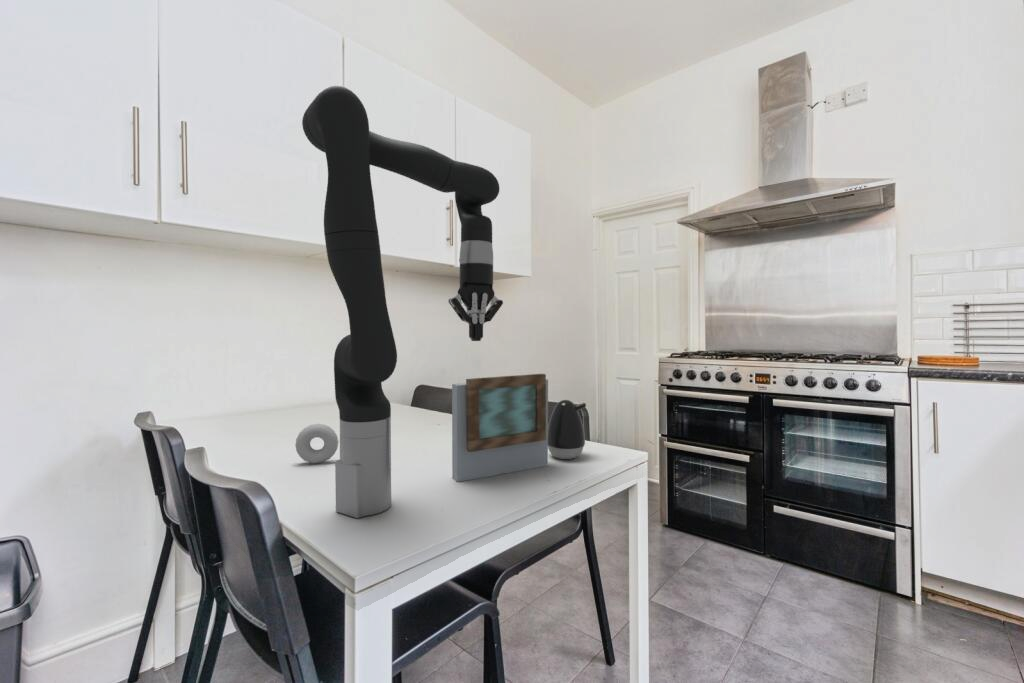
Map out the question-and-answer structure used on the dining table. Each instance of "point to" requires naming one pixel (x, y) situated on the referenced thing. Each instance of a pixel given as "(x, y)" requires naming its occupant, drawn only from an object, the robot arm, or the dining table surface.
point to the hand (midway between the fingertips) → (476, 340)
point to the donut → (311, 454)
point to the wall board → (490, 459)
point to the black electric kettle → (566, 431)
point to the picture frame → (505, 411)
